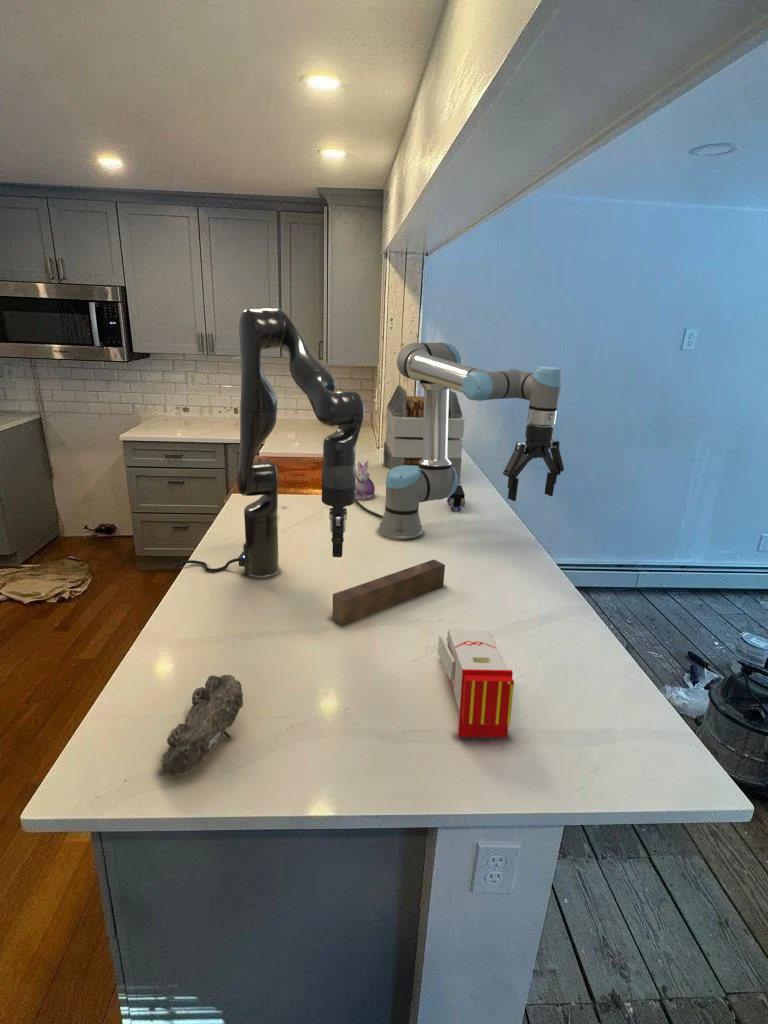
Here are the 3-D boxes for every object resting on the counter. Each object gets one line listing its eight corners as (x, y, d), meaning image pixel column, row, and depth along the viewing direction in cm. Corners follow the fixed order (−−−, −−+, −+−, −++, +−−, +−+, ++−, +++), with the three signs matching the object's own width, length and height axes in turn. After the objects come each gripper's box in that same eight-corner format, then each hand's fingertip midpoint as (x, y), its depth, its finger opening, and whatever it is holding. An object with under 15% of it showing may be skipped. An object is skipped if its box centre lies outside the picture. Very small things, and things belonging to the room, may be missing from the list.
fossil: (189, 675, 113) (243, 642, 108) (223, 706, 116) (276, 676, 111) (136, 768, 93) (198, 733, 88) (177, 802, 96) (240, 771, 91)
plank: (342, 626, 141) (343, 601, 138) (332, 618, 144) (332, 594, 142) (443, 586, 163) (445, 564, 161) (432, 580, 166) (433, 559, 164)
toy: (488, 613, 130) (523, 677, 101) (484, 667, 133) (517, 744, 104) (435, 612, 130) (455, 676, 101) (432, 666, 133) (451, 743, 103)
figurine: (359, 501, 230) (360, 466, 225) (349, 494, 239) (349, 459, 234) (379, 499, 235) (381, 464, 230) (369, 491, 243) (370, 458, 238)
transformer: (382, 463, 289) (386, 382, 275) (445, 464, 293) (451, 384, 279) (390, 482, 257) (394, 392, 243) (460, 483, 261) (468, 394, 247)
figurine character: (465, 515, 224) (460, 499, 237) (467, 498, 221) (462, 483, 234) (448, 515, 224) (444, 499, 237) (450, 498, 220) (445, 482, 234)
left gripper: (322, 472, 132) (322, 536, 138) (320, 491, 119) (320, 562, 124) (354, 473, 133) (352, 537, 138) (356, 492, 119) (354, 562, 125)
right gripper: (513, 429, 149) (503, 505, 156) (584, 425, 159) (572, 496, 167) (495, 424, 155) (487, 497, 162) (565, 420, 166) (554, 489, 173)
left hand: (337, 548), depth 131 cm, fingers open, 8 cm apart
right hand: (530, 497), depth 164 cm, fingers open, 13 cm apart
